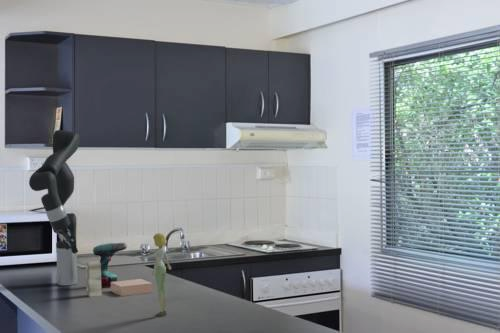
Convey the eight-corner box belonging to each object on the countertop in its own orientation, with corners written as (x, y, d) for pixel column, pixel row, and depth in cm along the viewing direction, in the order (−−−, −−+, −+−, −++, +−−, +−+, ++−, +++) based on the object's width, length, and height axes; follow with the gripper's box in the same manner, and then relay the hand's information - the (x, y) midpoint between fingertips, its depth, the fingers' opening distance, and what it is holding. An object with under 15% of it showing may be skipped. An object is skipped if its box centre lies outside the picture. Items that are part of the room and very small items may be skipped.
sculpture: (164, 311, 263) (162, 231, 262) (175, 311, 261) (173, 231, 261) (146, 318, 251) (144, 235, 250) (158, 319, 249) (156, 235, 249)
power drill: (124, 288, 314) (123, 243, 314) (91, 287, 318) (89, 243, 317) (130, 285, 321) (129, 241, 321) (97, 284, 325) (96, 241, 325)
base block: (110, 291, 307) (110, 282, 307) (141, 287, 314) (140, 278, 314) (121, 296, 295) (121, 286, 295) (152, 292, 302) (152, 283, 302)
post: (86, 295, 299) (85, 262, 299) (98, 293, 302) (97, 261, 302) (90, 297, 295) (89, 263, 295) (101, 295, 297) (100, 262, 297)
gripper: (71, 215, 286) (86, 249, 291) (60, 210, 297) (74, 243, 303) (55, 223, 282) (70, 258, 287) (43, 218, 294) (58, 251, 299)
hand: (72, 250), depth 295 cm, fingers open, 8 cm apart
